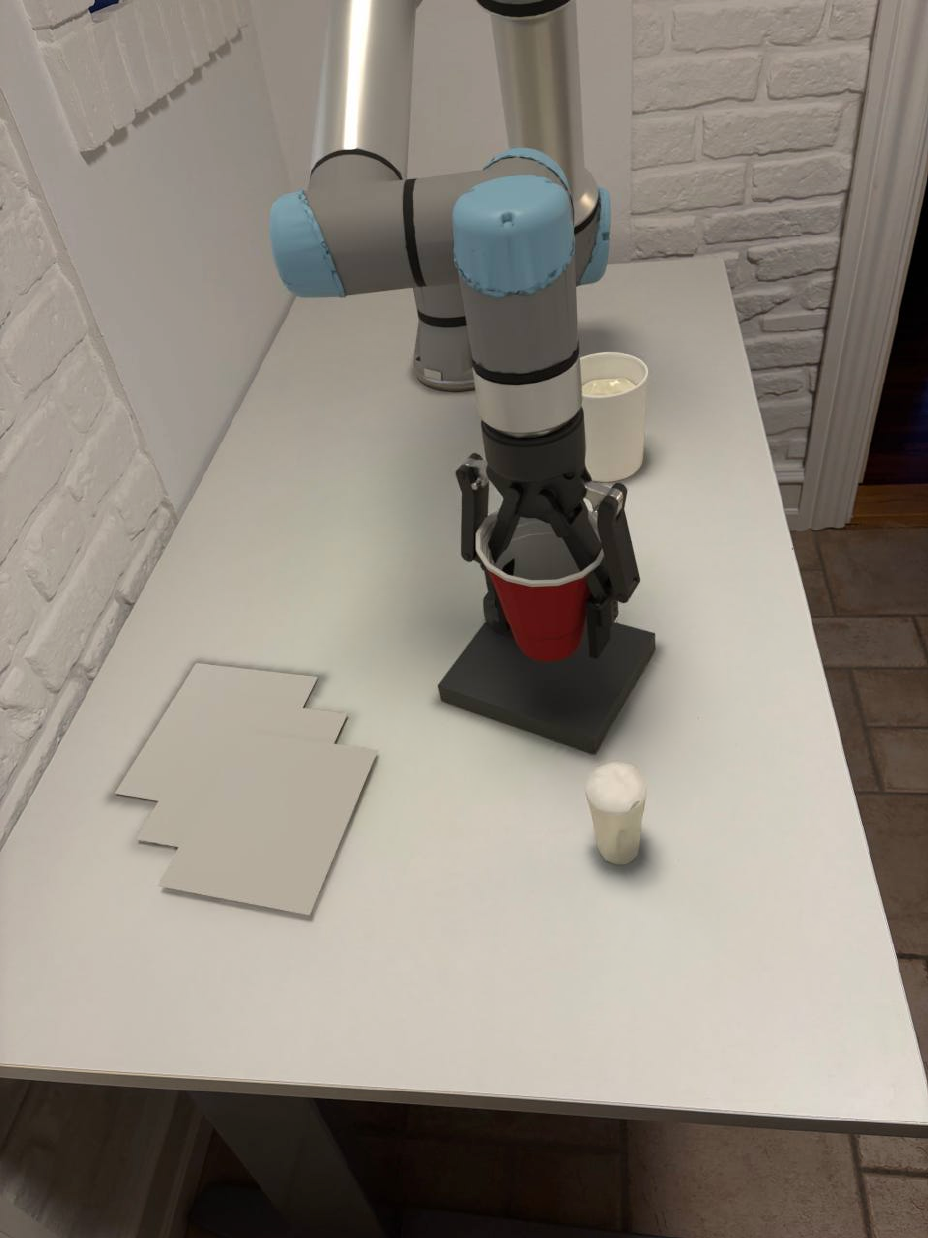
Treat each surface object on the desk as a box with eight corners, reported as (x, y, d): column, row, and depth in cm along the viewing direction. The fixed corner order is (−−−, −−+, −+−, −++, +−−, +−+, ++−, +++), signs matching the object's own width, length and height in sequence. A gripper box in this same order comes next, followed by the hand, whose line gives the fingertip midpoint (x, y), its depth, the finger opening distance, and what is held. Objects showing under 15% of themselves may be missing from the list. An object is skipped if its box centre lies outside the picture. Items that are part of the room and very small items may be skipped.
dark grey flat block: (506, 600, 100) (502, 572, 97) (658, 644, 92) (658, 614, 90) (434, 698, 91) (427, 670, 89) (594, 755, 84) (592, 725, 81)
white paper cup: (610, 496, 110) (606, 406, 102) (550, 466, 116) (542, 379, 108) (666, 457, 114) (666, 367, 106) (605, 430, 120) (601, 343, 112)
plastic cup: (607, 688, 80) (601, 582, 72) (481, 680, 83) (462, 577, 74) (619, 600, 88) (615, 494, 79) (503, 595, 90) (488, 493, 82)
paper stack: (65, 872, 82) (62, 867, 82) (196, 663, 99) (194, 658, 99) (311, 919, 76) (309, 915, 75) (407, 687, 93) (405, 682, 92)
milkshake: (613, 890, 74) (609, 815, 67) (580, 838, 78) (572, 762, 71) (664, 865, 75) (664, 789, 68) (628, 815, 79) (626, 738, 72)
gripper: (688, 407, 67) (683, 637, 82) (436, 365, 76) (474, 579, 91) (646, 466, 62) (649, 698, 78) (384, 414, 72) (433, 630, 87)
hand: (554, 634), depth 84 cm, fingers closed on plastic cup, 8 cm apart
